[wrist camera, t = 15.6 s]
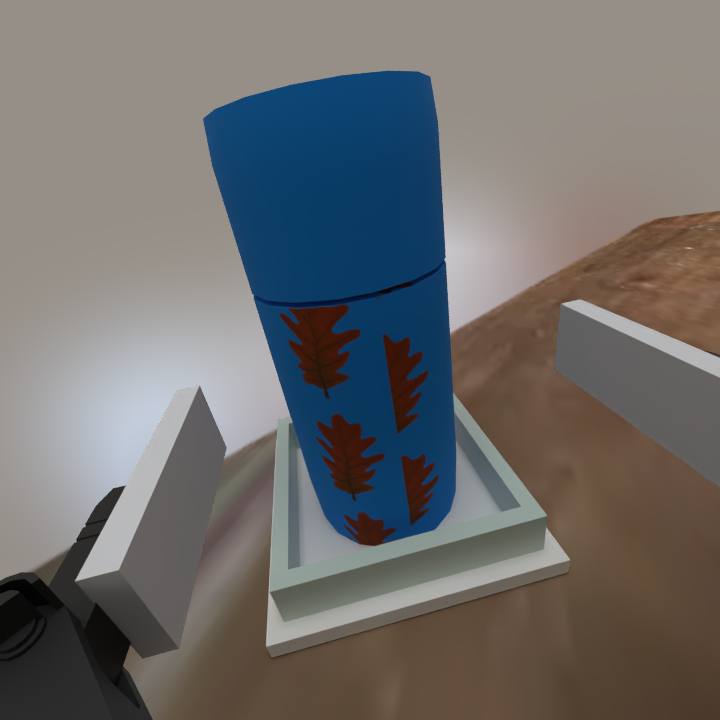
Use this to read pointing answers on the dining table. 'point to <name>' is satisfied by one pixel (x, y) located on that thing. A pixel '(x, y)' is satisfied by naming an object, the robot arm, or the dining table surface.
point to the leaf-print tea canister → (350, 286)
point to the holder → (400, 549)
